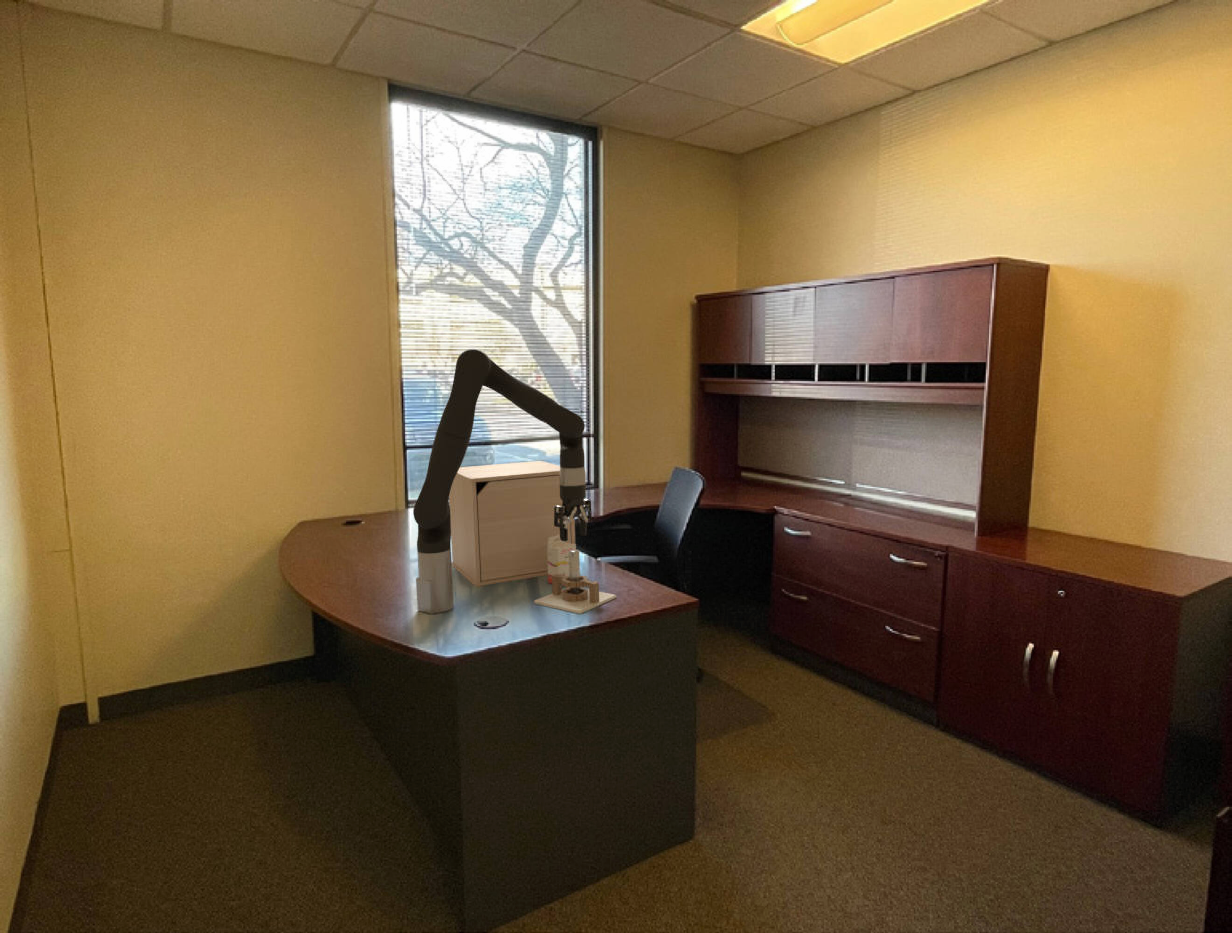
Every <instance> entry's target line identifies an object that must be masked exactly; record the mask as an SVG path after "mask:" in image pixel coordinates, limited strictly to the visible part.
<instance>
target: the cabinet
mask: <svg viewBox="0 0 1232 933" xmlns="http://www.w3.org/2000/svg"><path fill="white" fill-rule="evenodd" d="M559 474H560V464H554V463H550V462H547V461H544V460H533V461H523V462H520V461H519V462H509V463H508V462H507V463H499V464H498V463H497V464H486V465H474V466H462V467H461V466H460V468H459V470H458V472H457V474H456V476H455V478H454V481H453V483H452V486H451V490H450V494H449V499H448V502H449V505H450V517H451V564H452V568H454V569H455V570H457V572H458V573H460V574H461V575H462V576H463V577H464V578H466V580H468V581H469V582H470V583H471V584H472V585H473V586H474V587H480V586H487V585H493V584H499V583H506V582H512V581H518V580H524V579H531V578H537V577H542V576H543V577H544V576H548V554H547V547H548V538H549V537H553V536H557V535H560V528H559V527H555V526H554V507H555V506H562V500H561V499H560V483H559ZM565 517H566V515H565ZM575 518H576V517H575ZM575 518H573V519H572V520H571V522H569V524H568V527H567V528H568V541H565V542H566V543H572V544H576V527H575V526H576V522H575ZM558 523H559V519H558ZM564 523H565V521H564ZM564 523H563V524H564ZM558 540H560V538H559V539H558V538H556V539H555V540H554V541H558Z"/></svg>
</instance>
